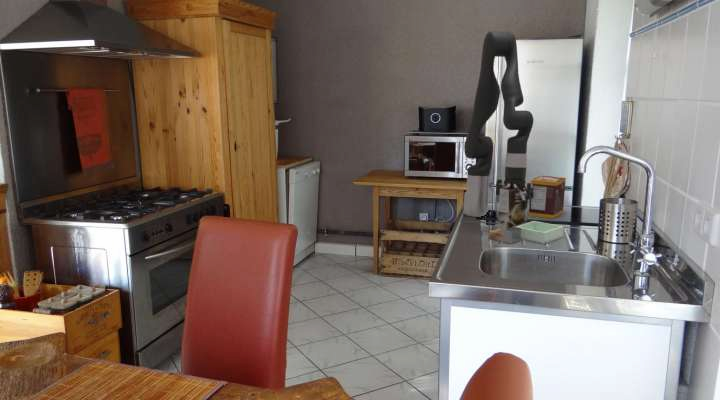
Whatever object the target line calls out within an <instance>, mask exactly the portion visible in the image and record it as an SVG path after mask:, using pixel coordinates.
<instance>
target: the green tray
mask: <svg viewBox="0 0 720 400" xmlns="http://www.w3.org/2000/svg"><path fill="white" fill-rule="evenodd" d="M516 227H517V228H521V237H520V240H524V241H527V242H533V243H537V244H542V245H547V244H548V243H551V242H554V241H557V240H559V239H561V238H563V236H564V226H563V225H559V224H552V223H547V222H541V221H536V220H532V221H529V222H527V223H525V224H522V225H519V226H516Z"/></svg>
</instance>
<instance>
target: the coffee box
mask: <svg viewBox="0 0 720 400" xmlns="http://www.w3.org/2000/svg"><path fill="white" fill-rule="evenodd" d="M524 190H525V191H526V194H527V188H526V187H524V189H523V190H521V192H524ZM498 196H499V195H498ZM498 198H499V199H498V210H497V211H498V212H497V225H496V226H497V227H496V229H502V230H505V229H508V228H511V227H516V226H519V225H522V224H525V223H528V222H527V219H528V210H529V206H527V209H526V210H524V211H523V210H521V207H522V200H523V199H522V198H521V196H520V195H519V194H518V190H516V189H507V188H505V187H503V188H500V196H499V197H498Z"/></svg>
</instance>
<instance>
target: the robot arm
mask: <svg viewBox="0 0 720 400" xmlns="http://www.w3.org/2000/svg"><path fill="white" fill-rule="evenodd" d="M517 46H518V45H517V40H516V36H515V34H514V33H513V32H511V31H505V30H504V31H503V30H490V31H487V33H486V34H485V36H484V39H483V44H482V51H481V63H480V71H479V77H478V83H477V87H476V91H475V96H474V103H473V108H472V109H473V110H472V115H471V119H470V123H469V127H468V130H467V131H468V132H467V134H466V137H465V141H464V155H465V157H466V158H467V159H469V160H470V159H471V160H473V159H474V160H476V159H477V160H478V161H477V162H476V163H475V164H474V165H471V166H468V168H467V171H466V172H467V174H466V191H465V192H464V196H463V198H464V199H463V214H464V215H466V216H468V217H475V218H478V217H479V218H482V217H481V216H484V215H485V214H486V213H487V212H488V213H489V200H490V199H489V198H490V194H489V193H490V182H491V181H490V178H491V170H492V165H493V164H492V163H493V158H494V157H493V156H494V142H493V139H492V137H490V136H489V135H485V136H484V135H481V132H482V130H483V128H484V126H485V124H486V123H487V122H488V121H489V120H490V118H492V116H493V114H494V113H495V112H496V110H497V109H498V106H499V101H500V97H501V96H502V100H503V117H502V122H503V126H504V127H505V128H506V130H509V131H517V133H516V135H514V136H511V137H508V139H507V140H506V155H505V163H504V164H505V165H504V179H503V178H500V179H497V181H496V187H495V195H497V196H500V188H507V189H516V190H518V194H519V195H520V196H521V198H522V199H523V200H522V207H521V210H523V211H524V210H526V209H527V206H528V205H529V201H530V199H533V183H531V182H527V181H526V178H527V176H526V175H527V165H528V164H527V162H528V157H527V150H528V149H527V148H528V141H529V137H530V134H531V132H532V128H533V126H534V116H533V114H532V112H531V111H529V110H516V108H517V107H519V106H521V105H522V104H523V103H524V94H523V90H522V85H521V83H520V82H521V80H520V75H519V62H518V61H519V60H518V59H519V57H518V47H517ZM496 57H499V58H501V57H502V58H503V57H504V60H505V65H506V66H505V71H504V73H503V76H502V78H501V81H500V84H499V82H498V80H497V79H498V78H497V77H496V74H495V70H494V69H495V68H494V67H495V60H496V59H495V58H496ZM480 135H481V136H480ZM503 186H505V187H503ZM524 188H526V189H527V194H526V191H525V190H524V192H521V190H523V189H524ZM528 207H529V206H528ZM527 210H528V209H527Z"/></svg>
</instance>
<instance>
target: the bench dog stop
mask: <svg viewBox="0 0 720 400" xmlns="http://www.w3.org/2000/svg"><path fill="white" fill-rule="evenodd" d="M520 237H521V228H517V227H511V228H508V229H505V230H504V241H503V242H502V243H505V244H510V245H513V244H515V243H519V242H520V241H521V239H520Z"/></svg>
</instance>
